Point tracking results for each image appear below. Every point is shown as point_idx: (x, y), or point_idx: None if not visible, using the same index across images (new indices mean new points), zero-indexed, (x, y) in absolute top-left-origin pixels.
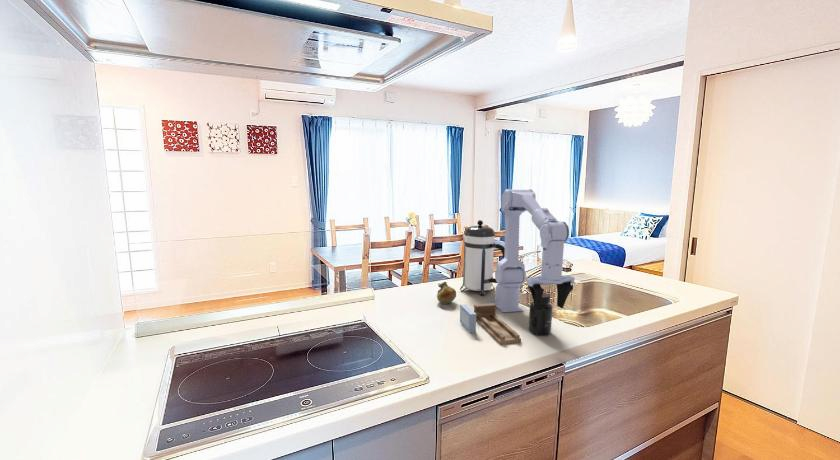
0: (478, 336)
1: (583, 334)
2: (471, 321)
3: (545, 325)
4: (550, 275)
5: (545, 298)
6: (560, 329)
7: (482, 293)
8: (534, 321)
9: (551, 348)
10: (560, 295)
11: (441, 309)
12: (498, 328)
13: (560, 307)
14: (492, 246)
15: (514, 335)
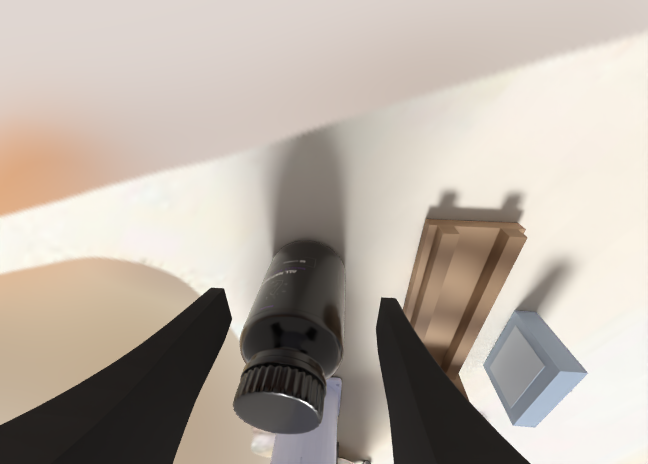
0: (533, 285)
1: (163, 218)
2: (558, 345)
3: (304, 262)
4: None
5: (278, 385)
6: (228, 265)
7: (336, 448)
8: (340, 290)
9: (346, 143)
10: (182, 382)
11: (487, 419)
12: (444, 306)
13: (225, 295)
14: None
15: (455, 241)
